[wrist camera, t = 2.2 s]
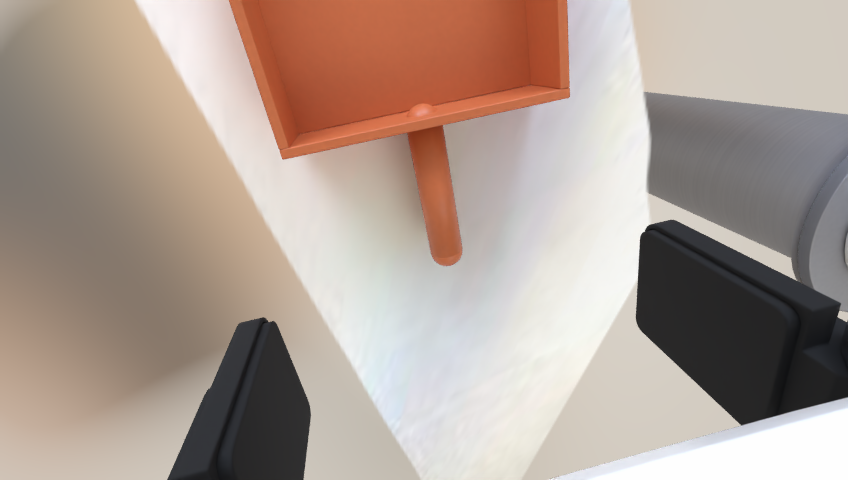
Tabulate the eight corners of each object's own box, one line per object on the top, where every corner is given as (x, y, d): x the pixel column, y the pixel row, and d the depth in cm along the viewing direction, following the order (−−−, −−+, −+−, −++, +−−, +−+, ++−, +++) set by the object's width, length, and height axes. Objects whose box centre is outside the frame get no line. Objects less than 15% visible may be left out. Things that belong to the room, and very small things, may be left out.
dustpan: (209, -124, 19) (170, -173, 15) (519, -177, 20) (560, -236, 16) (335, 273, 28) (332, 308, 24) (544, 224, 29) (574, 250, 25)
